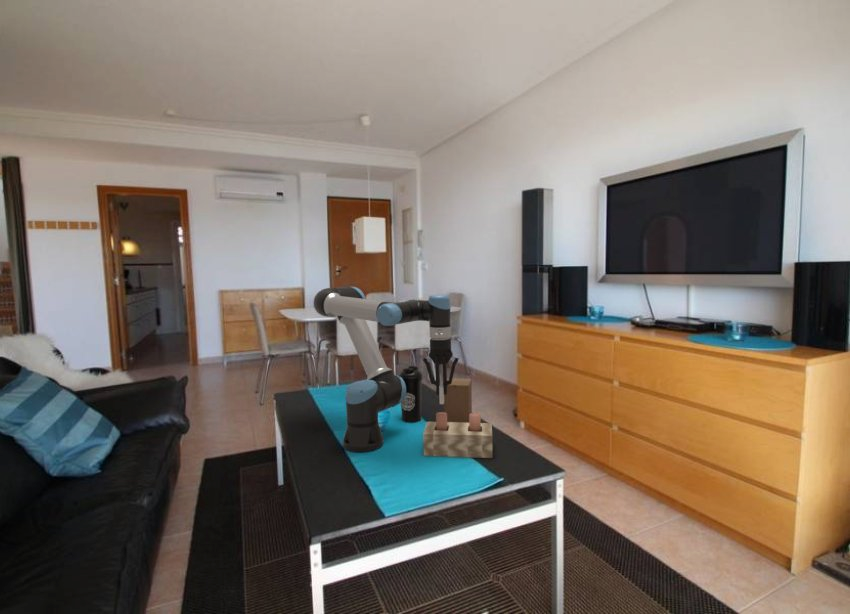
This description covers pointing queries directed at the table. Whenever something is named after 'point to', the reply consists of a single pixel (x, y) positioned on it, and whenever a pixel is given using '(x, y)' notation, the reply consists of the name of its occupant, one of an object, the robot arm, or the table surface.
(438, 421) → the peg
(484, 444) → the socket board
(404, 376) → the water bottle
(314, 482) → the table surface
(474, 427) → the peg
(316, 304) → the robot arm
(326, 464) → the table surface
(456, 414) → the wooden block
